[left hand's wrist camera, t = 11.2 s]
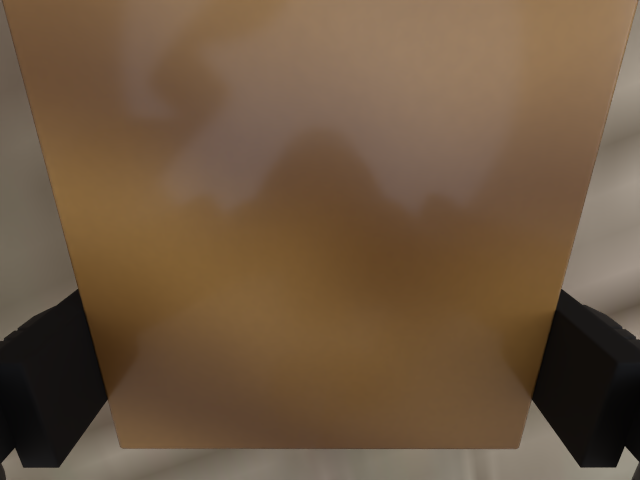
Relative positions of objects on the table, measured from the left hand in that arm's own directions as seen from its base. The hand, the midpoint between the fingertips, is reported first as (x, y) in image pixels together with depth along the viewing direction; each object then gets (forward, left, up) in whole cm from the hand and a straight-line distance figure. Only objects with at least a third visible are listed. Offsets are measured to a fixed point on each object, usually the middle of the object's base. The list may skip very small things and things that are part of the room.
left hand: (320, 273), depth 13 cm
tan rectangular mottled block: (+3, +4, -6) cm, 8 cm away
